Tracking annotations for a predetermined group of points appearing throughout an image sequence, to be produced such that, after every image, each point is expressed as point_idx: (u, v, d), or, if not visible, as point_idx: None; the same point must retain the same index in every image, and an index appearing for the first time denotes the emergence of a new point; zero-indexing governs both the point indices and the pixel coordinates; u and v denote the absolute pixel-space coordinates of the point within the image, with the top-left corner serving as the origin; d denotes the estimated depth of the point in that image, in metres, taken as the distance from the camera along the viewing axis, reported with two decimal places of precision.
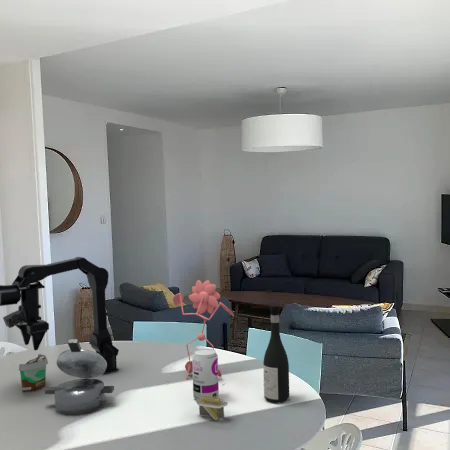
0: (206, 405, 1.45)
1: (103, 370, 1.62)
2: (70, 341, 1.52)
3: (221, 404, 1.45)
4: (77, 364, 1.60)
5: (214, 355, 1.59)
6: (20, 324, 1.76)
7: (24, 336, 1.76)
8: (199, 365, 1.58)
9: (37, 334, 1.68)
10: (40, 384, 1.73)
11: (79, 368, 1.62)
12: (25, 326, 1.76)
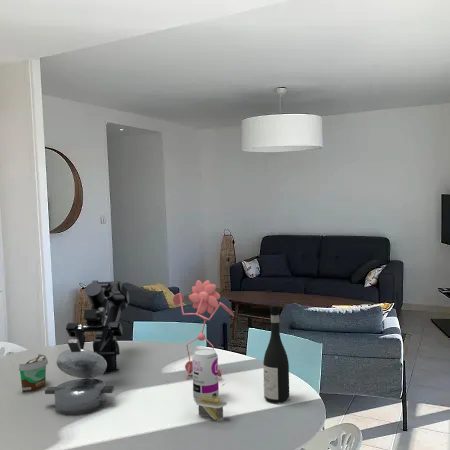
0: (205, 405, 1.45)
1: (103, 370, 1.62)
2: (70, 341, 1.52)
3: (220, 404, 1.45)
4: (77, 364, 1.60)
5: (214, 355, 1.59)
6: (81, 330, 1.74)
7: (82, 343, 1.72)
8: (199, 365, 1.58)
9: (105, 336, 1.74)
10: (40, 384, 1.73)
11: (79, 368, 1.62)
12: (83, 334, 1.75)
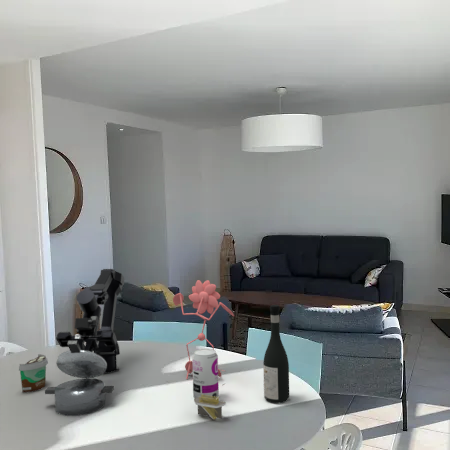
0: (204, 405, 1.45)
1: (103, 370, 1.62)
2: (70, 342, 1.52)
3: (219, 404, 1.45)
4: (77, 364, 1.60)
5: (214, 355, 1.59)
6: (81, 339, 1.65)
7: None
8: (199, 365, 1.58)
9: None
10: (40, 384, 1.73)
11: (78, 368, 1.62)
12: (83, 344, 1.65)
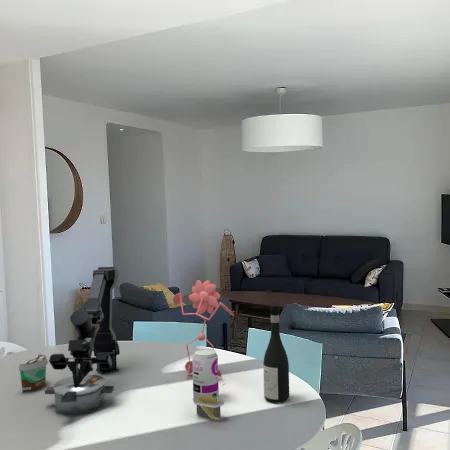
0: (203, 404, 1.46)
1: None
2: (63, 400, 1.46)
3: (218, 403, 1.45)
4: None
5: (214, 355, 1.59)
6: (75, 362, 1.58)
7: (76, 377, 1.56)
8: (199, 365, 1.58)
9: (83, 370, 1.58)
10: (40, 384, 1.73)
11: None
12: (77, 367, 1.59)
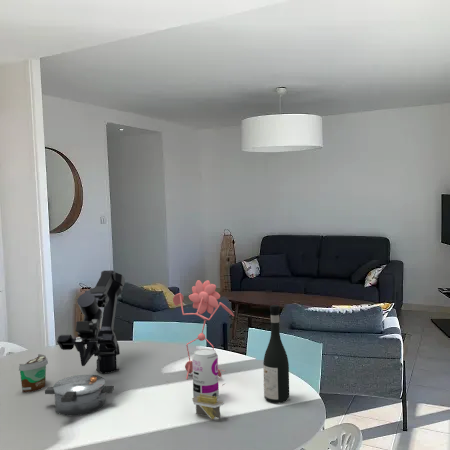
0: (202, 404, 1.46)
1: None
2: (63, 400, 1.46)
3: (217, 403, 1.45)
4: None
5: (214, 355, 1.59)
6: (82, 342, 1.65)
7: (83, 356, 1.63)
8: (199, 365, 1.58)
9: (90, 350, 1.66)
10: (40, 384, 1.73)
11: None
12: (84, 347, 1.66)
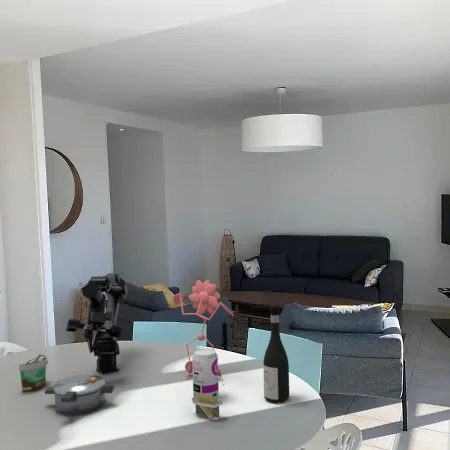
0: (201, 404, 1.46)
1: None
2: (63, 400, 1.46)
3: (216, 403, 1.46)
4: None
5: (214, 355, 1.59)
6: (91, 329, 1.73)
7: None
8: (199, 365, 1.58)
9: None
10: (40, 384, 1.73)
11: None
12: None
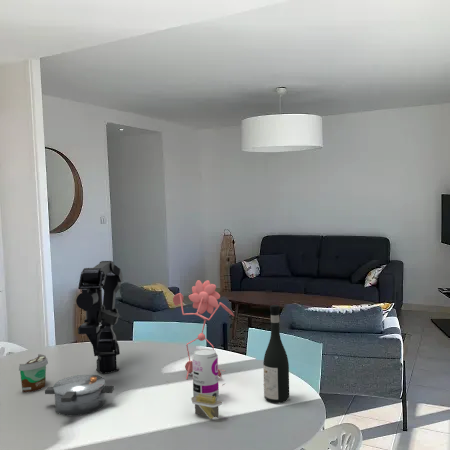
0: (201, 404, 1.46)
1: None
2: (63, 400, 1.46)
3: (215, 403, 1.46)
4: None
5: (214, 355, 1.59)
6: None
7: None
8: (199, 365, 1.58)
9: None
10: (40, 384, 1.73)
11: None
12: None
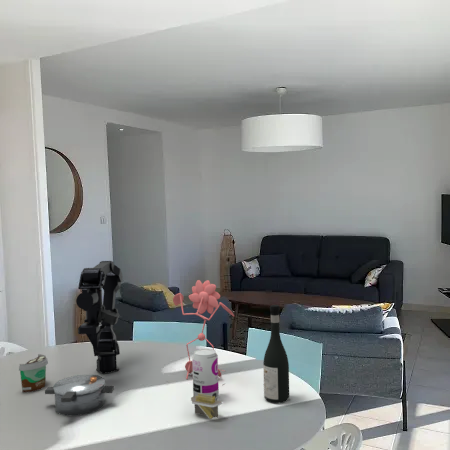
0: (200, 404, 1.46)
1: None
2: (63, 400, 1.46)
3: (215, 403, 1.46)
4: None
5: (214, 355, 1.59)
6: None
7: None
8: (199, 365, 1.58)
9: None
10: (40, 384, 1.73)
11: None
12: None
